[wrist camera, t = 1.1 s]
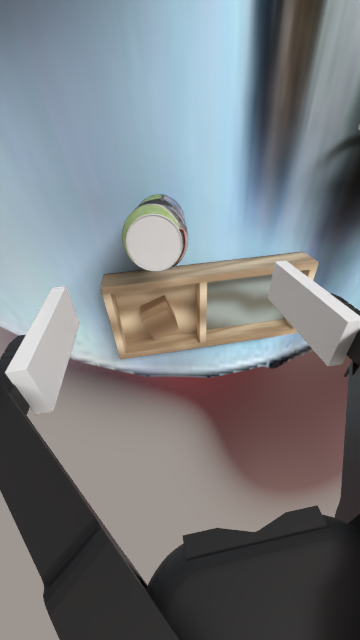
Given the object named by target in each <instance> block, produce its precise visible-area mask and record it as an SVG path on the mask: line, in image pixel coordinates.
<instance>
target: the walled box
mask: <svg viewBox="0 0 360 640" xmlns="http://www.w3.org/2000/svg"><path fill="white" fill-rule="evenodd" d="M277 261H287V262H289V263H290V264H291V265H293V266H294V267H295V268H297V269H298V270H299V271H301V272H302V273H303V274H305V275H306V276H307V277H309V278H310V279H311V280H313V279H314V276H315V273H316V269H317V266H318V263H319V262H318V261H316V260H315V259H313V258H312V257H310V256H308V255H307V254H305V253H304V252H297V253H288V254H279V255H270V256H261V257H253V258H244V259H235V260H226V261H217V262H209V263H200V264H191V265H182V266H174V267H172V268H171V269H169V270H165V271H161V272H152V271H147V270H138V271H130V272H121V273H112V274H103V279H102V283H101V292H102V295H103V299H104V302H105V306H106V309H107V313H108V317H109V320H110V324H111V327H112V331H113V334H114V338H115V341H116V345H117V348H118V352H119V355H120V359H126V358H133V357H139V356H146V355H153V354H160V353H166V352H173V351H180V350H186V349H193V348H200V347H207V346H213V345H220V344H227V343H234V342H240V341H247V340H254V339H261V338H267V337H274V336H281V335H288V334H294V333H297V331H296V330H295V329H294V327H293V326H292V325H291V324H290V323H289V322H288V321H287V319H286V318H285V317H284V316H283V315H282V314H281V313H280V312H279V310H278V309H277V308H276V307H275V306H274V305H273V304H272V302H271V301H270V300H269V299H268V294H269V289H270V284H271V279H272V274H273V269H274V263H275V262H277ZM163 295H165V297H166V299H167V301H168V302H169V304H170V306H171V308H172V310H173V311H174V313H175V316H176V321H177V325H178V330H176V331H174V332H171V333H169V334H167V335H164V336H162V337H160V338H157V339H155V340H154V339H153V337H152V336H151V334H150V333H149V331H148V330H147V328H146V327H145V325H144V324H143V323H142V321H141V305H143V304H145V303H148V302H150V301H152V300H154V299H156V298H159V297H161V296H163Z"/></svg>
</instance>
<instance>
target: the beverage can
mask: <svg viewBox="0 0 360 640" xmlns="http://www.w3.org/2000/svg"><path fill="white" fill-rule="evenodd" d="M122 240H123V245H124V249H125V251H126V253H127V255H128V256H129V258H130V259H131V260H132V261H133V262H134V263H135V264H136V265H137V266H139V267H141V268H142V269H145V270H147V271H152V272H161V271H165V270H169V269H171V268H172V267H174V266H175V265H177V264H178V263H179V262H180V261H181V259H182V258H183V256H184V255H185V252H186V250H187V246H188V233H187V228H186V223H185V219H184V215H183V211H182V209H181V207H180V206H179V204H178V203H177V202H176V201H175V200H174V199H172V198H171V197H168V196H166V195H159V194H158V195H152V196H150V197H148V198H146V199H145V200H144V201H143V202H142V203H141V204H140V205H139V206H138V207H137V208H136V209H135V210H134V211H133V212H132V213H131V214H130V216H129V217H128V218H127V220H126V222H125V224H124V227H123V233H122Z"/></svg>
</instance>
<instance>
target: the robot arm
mask: <svg viewBox="0 0 360 640" xmlns="http://www.w3.org/2000/svg"><path fill="white" fill-rule="evenodd" d="M268 299H269V300H270V301H271V302H272V304H273V305H274V306H275V307H276V308H277V309H278V310H279V312H280V313H281V314H282V315H283V316H284V317H285V318H286V319H287V321H288V322H289V323H290V324H291V325H292V326H293V327H294V329H295V330H296V331H297V332H298V333H299V334H300V335H301V337H302V338H303V339H304V340H305V341H306V342H307V343H308V344H309V346H310V347H311V348H312V349H313V350H314V351H315V352H316V354H317V355H318V356H319V357H320V358H321V359H322V360H323V361H324V363H326V365H327V366H333V365H339V364H342V363H343V361H344V359H345V357H346V355H347V356H349V358H350V359H352V362H351V363H350V365H349V367H348V369H347V371H346V373H345V375H344V376H345V377H346V376H347V375H348V374H349V379H348V395H347V410H346V426H345V441H344V457H343V471H342V488H341V498H340V502H339V505H338V508H337V511H336V514H335V518H333V517H329V516H326V515H322V514H321V512H320V510H319V508H318V506H313V507H308V508H304V509H299V510H295V511H290V512H286V513H284V514H283V515H281V516H280V517H278V518H277V519H276V520H274V521H272V522H271V523H269V524H268V525H266V526H265V527H263V528H262V529H261V530H259V531H257V532H247V531H239V530H229V529H221V528H215V529H210V530H206V531H202V532H197V533H193V534H188V535H184V536H183V541H184V543H183V544H182V545H180V546H179V547H178V548H176V549H175V550H174V551H173V552H172V553H170V554H169V555H168V556H167V557H166V558H165V559H164V561H163V562H162V563H161V564H160V566H159V567H158V569H157V570H156V571H155V573H154V575H153V577H152V578H151V580H150V582H149V584H148V585H147V584H146V583H145V581H144V580H143V579H142V577H141V576H140V574H139V573H138V571H137V570H136V569H135V567H134V566H133V565H132V563H131V562H130V560H129V559H128V558H127V556H126V555H125V554H124V552H123V551H122V550H121V548H120V547H119V545H118V544H117V543H116V541H115V540H114V539H113V537H112V536H111V534H110V533H109V531H108V530H107V528H106V527H105V526H104V525H103V523H102V521H101V520H100V519H99V517H98V516H97V514H96V513H95V512H94V510H93V509H92V507H91V506H90V504H89V503H88V502H87V500H86V499H85V497H84V496H83V495H82V493H81V492H80V491H79V489H78V488H77V486H76V485H75V483H74V482H73V480H72V479H71V478H70V476H69V475H68V473H67V472H66V471H65V470H64V468H63V466H62V465H61V464H60V462H59V461H58V459H57V458H56V457H55V455H54V454H53V452H52V451H51V449H50V448H49V447H48V445H47V444H46V442H45V441H44V440H43V438H42V437H41V436H40V434H39V433H38V431H37V430H36V428H35V427H34V425H33V424H32V423H31V421H30V420H29V419H28V417H27V416H26V415H27V413H28V410H29V408H31V409H32V411H33V412H34V414H35V415H37V414H42V413H49V412H53V411H54V408H55V404H56V401H57V398H58V394H59V391H60V388H61V384H62V381H63V378H64V374H65V371H66V368H67V364H68V360H69V357H70V354H71V351H72V347H73V344H74V341H75V337H76V334H77V331H78V327H79V324H80V322H79V320H78V317H77V314H76V312H75V309H74V306H73V304H72V301H71V299H70V296H69V293H68V291H67V288H66V286H63V287H55V288H52V290H51V291H50V293H49V295H48V297H47V298H46V300H45V302H44V304H43V306H42V307H41V309H40V311H39V313H38V314H37V316H36V318H35V320H34V322H33V323H32V325H31V327H30V329H29V330H28V332H27V334H26V335H21V336H17V337H16V338H15V339H14V340H13V341H12V342H11V343H10V344H9V345H8V347H7V348H6V350H5V353H3V355H2V356H1V359H0V491H1V493H2V495H3V497H4V499H5V501H6V503H7V505H8V508H9V510H10V512H11V514H12V516H13V518H14V520H15V523H16V525H17V527H18V529H19V531H20V533H21V535H22V538H23V540H24V542H25V544H26V546H27V548H28V550H29V553H30V555H31V557H32V559H33V561H34V563H35V565H36V567H37V570H38V572H39V574H40V576H41V578H42V581H43V583H44V594H43V597H44V602H45V606H46V609H47V611H48V614H49V616H50V619H51V621H52V623H53V625H54V628H55V630H56V632H57V635H58V637H59V639H60V640H360V311H359V310H358V309H356V308H354V306H352V305H351V304H349V303H348V302H347V301H346V300H344V299H343V298H341V297H339V296H337V295H334V294H332V293H328V292H327V291H326V290H324V289H323V288H322V287H321V286H319V285H318V284H317V283H315V282H314V281H313V280H311V279H310V278H309V277H307V276H306V275H305V274H303V273H302V272H301V271H299V270H298V269H297V268H295V267H294V266H293V265H291V264H290V263H289V262H287V261H277V262H275V263H274V269H273V274H272V279H271V284H270V289H269V294H268Z"/></svg>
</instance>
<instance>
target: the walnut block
mask: <svg viewBox="0 0 360 640" xmlns="http://www.w3.org/2000/svg"><path fill="white" fill-rule="evenodd" d="M141 321H142V323H143V324H144V325H145V327H146V328H147V330H148V331H149V333H150V334H151V336H152V337H153V339H154V340H155V339H157V338H160V337H162V336H164V335H167V334H169V333H171V332H174V331H176V330H178V325H177V321H176V316H175V313H174V311H173V310H172V308H171V306H170V304H169V302H168V301H167V299H166V297H165V295H163V296H161V297H159V298H156V299H154V300H152V301H150V302H148V303H145V304H143V305H141Z"/></svg>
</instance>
